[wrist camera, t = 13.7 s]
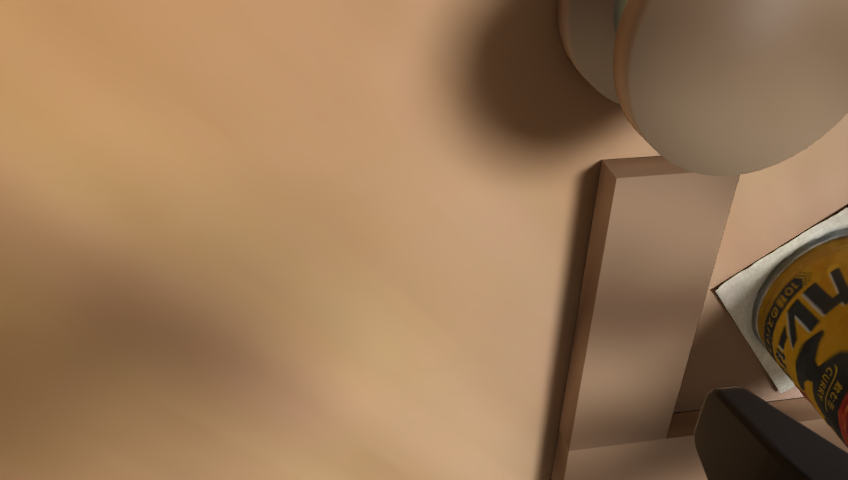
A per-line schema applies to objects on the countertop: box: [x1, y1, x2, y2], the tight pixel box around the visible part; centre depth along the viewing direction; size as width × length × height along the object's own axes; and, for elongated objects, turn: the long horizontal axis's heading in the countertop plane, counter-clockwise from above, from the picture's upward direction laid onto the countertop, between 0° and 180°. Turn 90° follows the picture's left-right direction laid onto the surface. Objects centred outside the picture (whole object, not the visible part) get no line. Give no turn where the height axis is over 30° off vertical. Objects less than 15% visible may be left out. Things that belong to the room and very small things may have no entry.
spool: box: [557, 0, 848, 176], centre depth 17 cm, size 6×6×5 cm
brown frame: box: [551, 156, 848, 480], centre depth 27 cm, size 16×20×1 cm
